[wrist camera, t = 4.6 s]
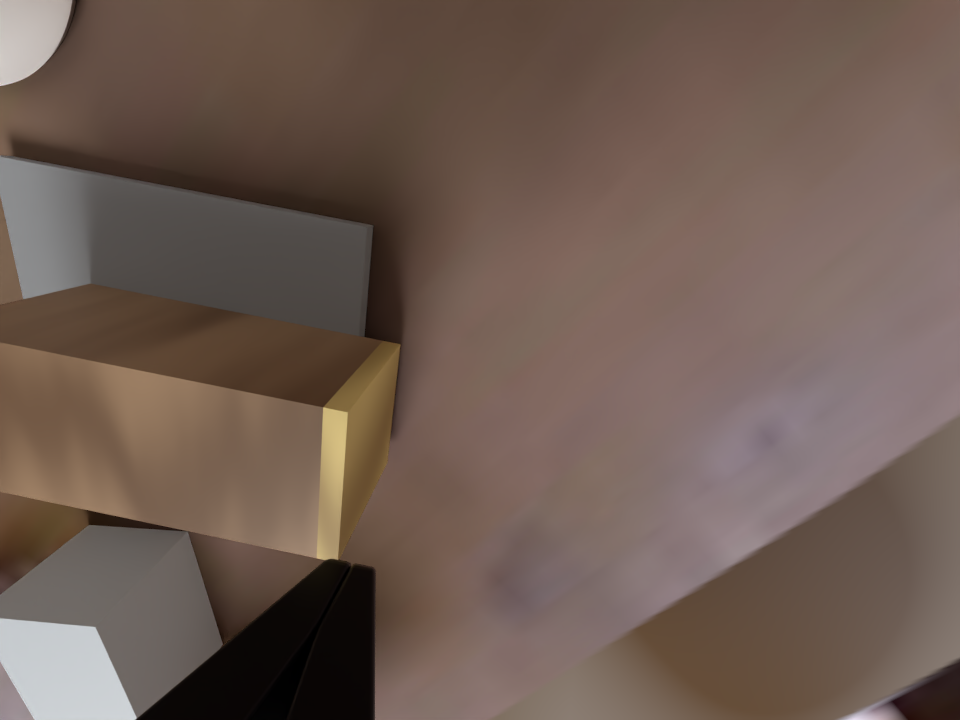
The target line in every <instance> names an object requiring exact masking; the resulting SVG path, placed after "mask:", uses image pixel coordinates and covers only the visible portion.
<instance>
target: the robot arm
mask: <svg viewBox="0 0 960 720" xmlns="http://www.w3.org/2000/svg"><path fill="white" fill-rule="evenodd" d="M375 591H376V572H375V568H374V567H370V566H366V565H361V564H353V565H352V566H351V564H350V563H349V562H346V561H342V560H337V559H327V560H325V561H324V562H323V563H322V564H321V565H319V566H318V567H317V568H316V569H315V570H313V571H312V572H311V573H310V574H309V575H307V576H306V577H305V578H304V579H303V580H301V581H300V582H299V583H298V584H297V585H295V586H294V587H293V588H292V589H291V590H289V591H288V592H287V593H286V594H285V595H284V596H282V597H281V598H280V599H279V600H278V601H276V602H275V603H274V604H273V605H272V606H270V607H269V608H268V609H267V610H266V611H264V612H263V613H262V614H261V615H260V616H258V617H257V618H256V619H255V620H254V621H252V622H251V623H250V624H249V625H248V626H246V627H245V628H244V629H243V630H242V631H241V632H239V633H238V634H237V635H236V636H235V637H233V638H232V639H231V640H230V641H229V642H227V643H226V644H225V645H224V646H223V647H221V648H220V649H219V650H218V651H217V652H215V653H214V654H213V655H212V656H211V657H209V658H208V659H207V660H206V661H205V662H203V663H202V664H201V665H200V666H199V667H198V668H196V669H195V670H194V671H193V672H192V673H190V674H189V675H188V676H187V677H186V678H184V679H183V680H182V681H181V682H180V683H178V684H177V685H176V686H175V687H174V688H172V689H171V690H170V691H169V692H168V693H166V694H165V695H164V696H163V697H162V698H161V699H159V700H158V701H157V702H156V703H155V704H153V705H152V706H151V707H150V708H149V709H147V710H146V711H145V712H144V713H143V714H141V715H140V716H139V717H138V718H137V719H135V720H375Z"/></svg>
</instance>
